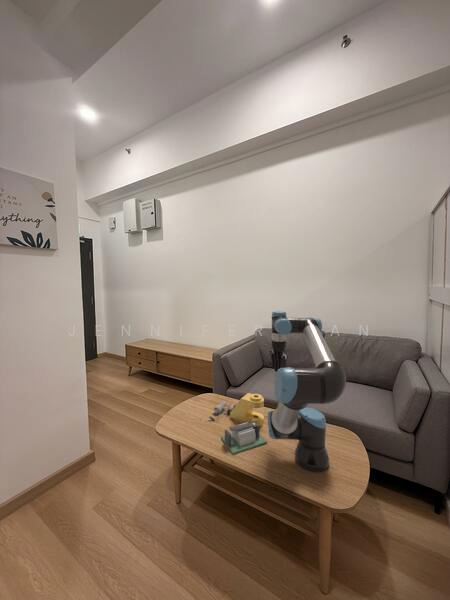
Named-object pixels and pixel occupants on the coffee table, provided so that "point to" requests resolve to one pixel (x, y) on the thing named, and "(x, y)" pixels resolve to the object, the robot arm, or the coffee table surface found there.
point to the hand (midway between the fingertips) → (278, 383)
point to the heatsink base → (239, 449)
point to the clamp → (248, 409)
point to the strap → (242, 426)
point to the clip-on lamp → (219, 409)
